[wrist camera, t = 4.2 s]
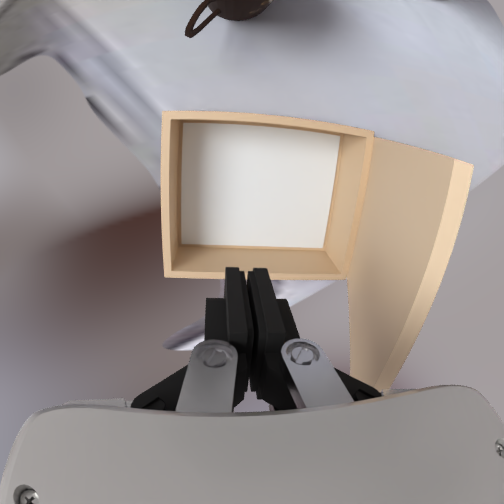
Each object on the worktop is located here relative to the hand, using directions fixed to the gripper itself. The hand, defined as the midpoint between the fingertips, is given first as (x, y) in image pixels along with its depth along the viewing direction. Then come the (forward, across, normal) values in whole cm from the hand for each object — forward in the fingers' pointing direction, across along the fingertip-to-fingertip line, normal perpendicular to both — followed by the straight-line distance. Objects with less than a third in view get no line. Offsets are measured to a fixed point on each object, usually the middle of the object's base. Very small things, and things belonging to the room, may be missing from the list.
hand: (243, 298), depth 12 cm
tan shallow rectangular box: (+20, -3, 0) cm, 20 cm away
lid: (+6, -9, 0) cm, 11 cm away
